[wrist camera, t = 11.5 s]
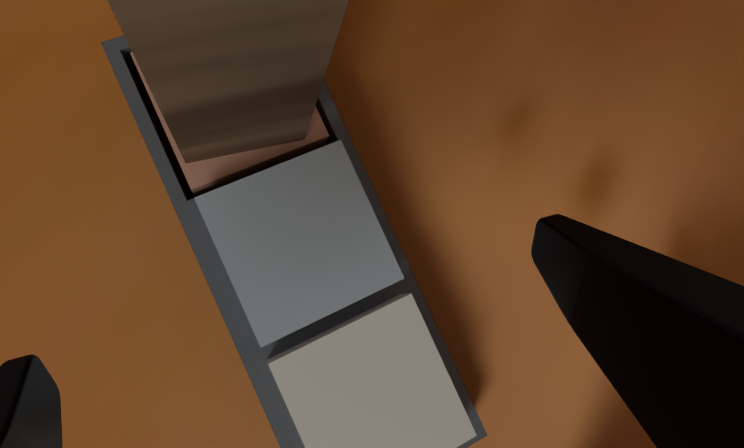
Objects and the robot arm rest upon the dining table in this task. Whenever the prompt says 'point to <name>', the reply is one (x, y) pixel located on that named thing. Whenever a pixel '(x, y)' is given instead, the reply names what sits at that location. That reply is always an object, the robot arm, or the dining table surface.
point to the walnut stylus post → (232, 67)
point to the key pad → (318, 296)
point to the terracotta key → (240, 155)
